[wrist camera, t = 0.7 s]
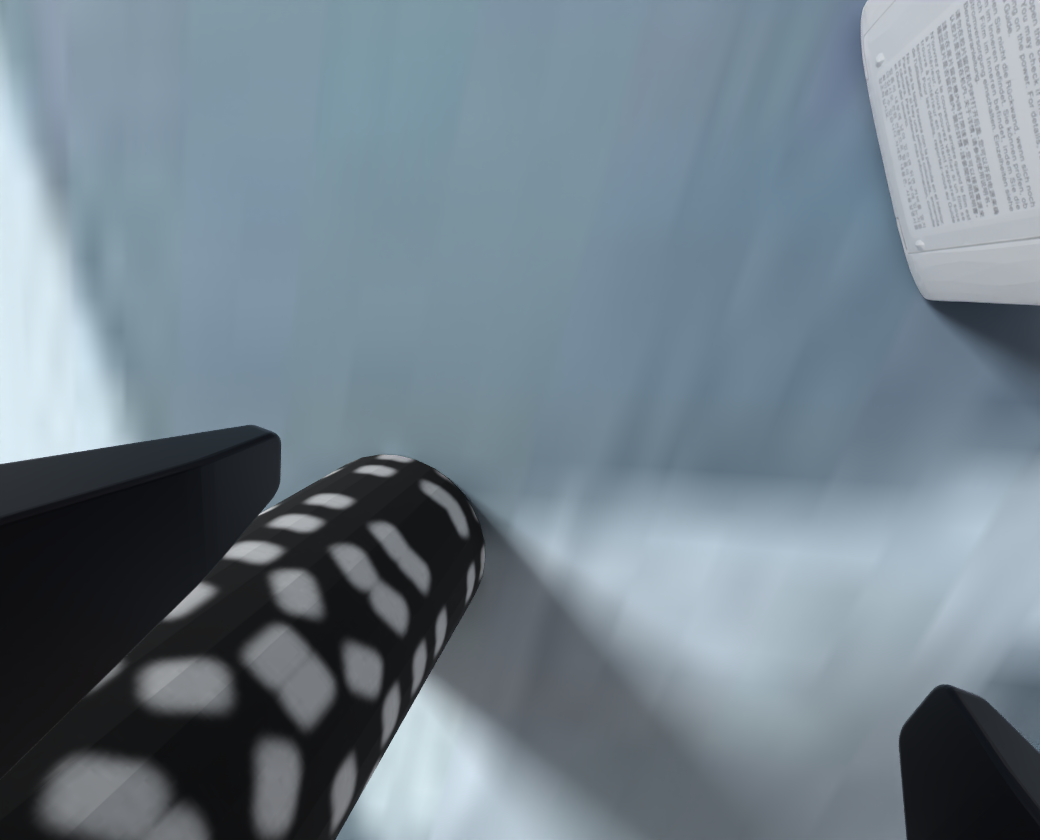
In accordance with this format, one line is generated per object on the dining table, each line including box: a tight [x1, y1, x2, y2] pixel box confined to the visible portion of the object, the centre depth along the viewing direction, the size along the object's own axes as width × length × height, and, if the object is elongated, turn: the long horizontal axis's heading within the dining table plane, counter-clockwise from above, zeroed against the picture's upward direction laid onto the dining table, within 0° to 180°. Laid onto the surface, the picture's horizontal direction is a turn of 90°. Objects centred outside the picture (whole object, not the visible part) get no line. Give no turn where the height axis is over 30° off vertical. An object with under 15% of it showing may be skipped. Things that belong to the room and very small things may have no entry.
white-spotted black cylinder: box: [0, 455, 485, 840], centre depth 16 cm, size 8×8×20 cm
